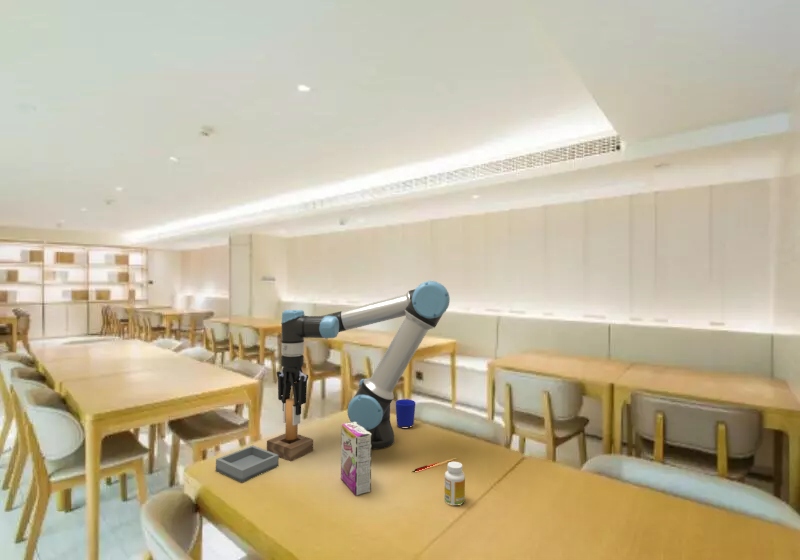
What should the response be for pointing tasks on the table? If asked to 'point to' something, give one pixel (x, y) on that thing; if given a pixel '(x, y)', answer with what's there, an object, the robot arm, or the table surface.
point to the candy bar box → (356, 457)
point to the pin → (290, 421)
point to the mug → (405, 412)
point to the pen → (423, 467)
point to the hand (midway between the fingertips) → (291, 422)
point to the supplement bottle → (454, 484)
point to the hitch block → (290, 447)
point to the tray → (246, 463)
